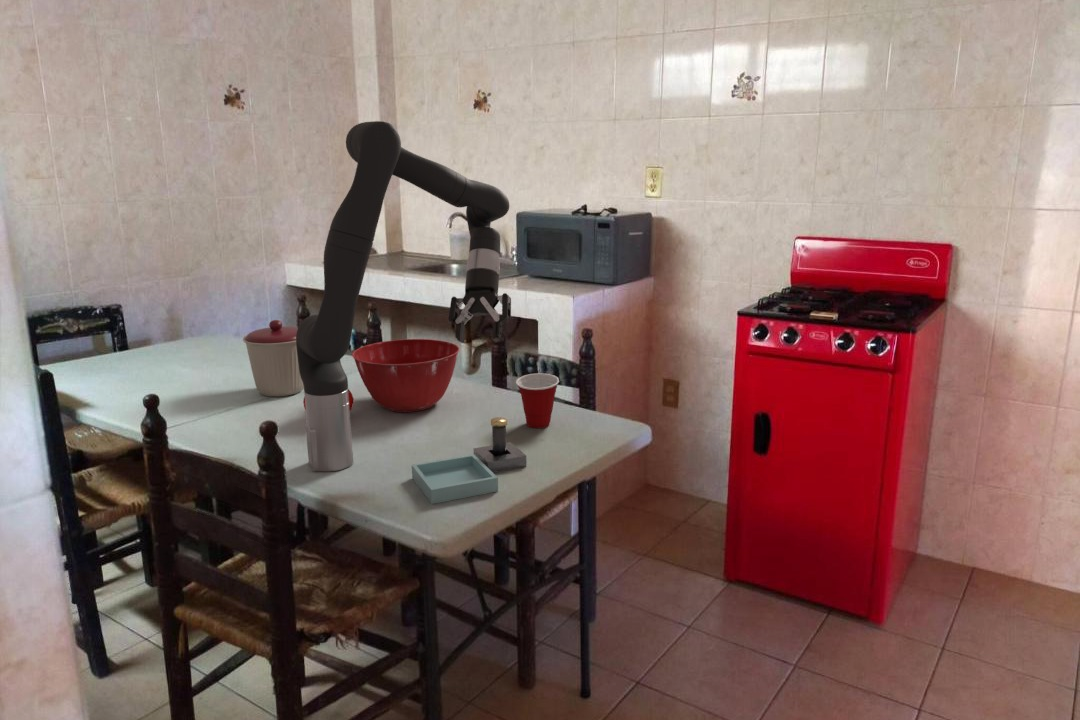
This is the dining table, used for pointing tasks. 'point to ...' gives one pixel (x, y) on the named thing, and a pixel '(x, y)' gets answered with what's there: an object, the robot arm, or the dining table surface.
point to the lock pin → (499, 435)
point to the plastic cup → (538, 398)
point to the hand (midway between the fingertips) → (477, 340)
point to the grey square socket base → (501, 458)
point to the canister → (274, 360)
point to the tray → (454, 478)
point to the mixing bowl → (407, 372)
